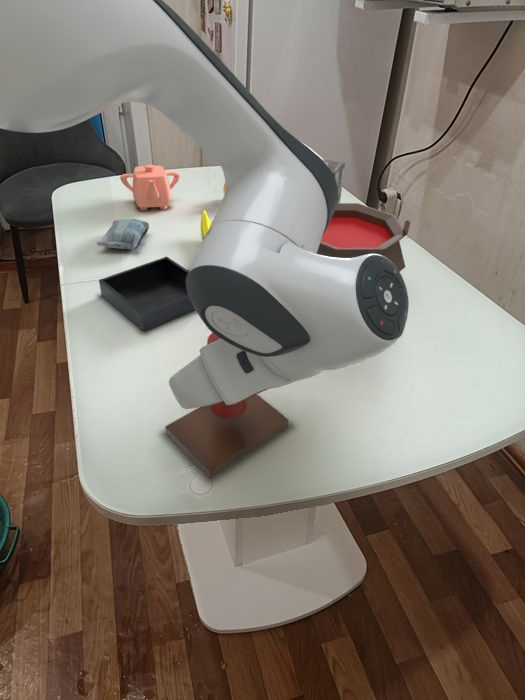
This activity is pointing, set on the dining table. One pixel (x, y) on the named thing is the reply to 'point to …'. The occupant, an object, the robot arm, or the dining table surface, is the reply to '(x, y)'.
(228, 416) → the red cylinder
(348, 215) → the brown soup pot
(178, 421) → the walnut board
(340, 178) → the coffee box
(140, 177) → the teapot
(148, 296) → the steel pan
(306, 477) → the dining table surface
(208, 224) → the banana
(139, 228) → the packaged food
